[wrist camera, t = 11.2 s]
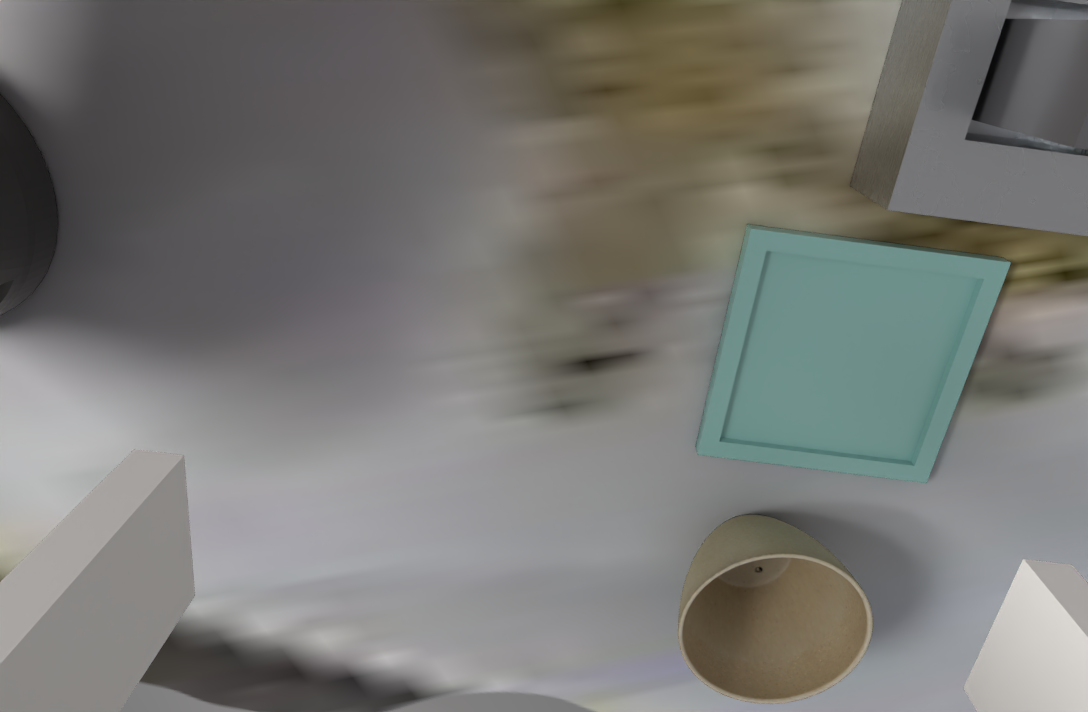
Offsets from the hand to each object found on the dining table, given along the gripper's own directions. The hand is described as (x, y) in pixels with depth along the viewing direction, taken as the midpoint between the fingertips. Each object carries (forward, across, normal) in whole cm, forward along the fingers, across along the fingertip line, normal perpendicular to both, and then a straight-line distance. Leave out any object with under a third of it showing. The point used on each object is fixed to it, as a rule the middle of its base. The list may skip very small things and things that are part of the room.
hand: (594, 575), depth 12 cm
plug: (+28, +18, +8) cm, 34 cm away
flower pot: (+29, +13, -20) cm, 37 cm away
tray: (+29, +15, -7) cm, 33 cm away
